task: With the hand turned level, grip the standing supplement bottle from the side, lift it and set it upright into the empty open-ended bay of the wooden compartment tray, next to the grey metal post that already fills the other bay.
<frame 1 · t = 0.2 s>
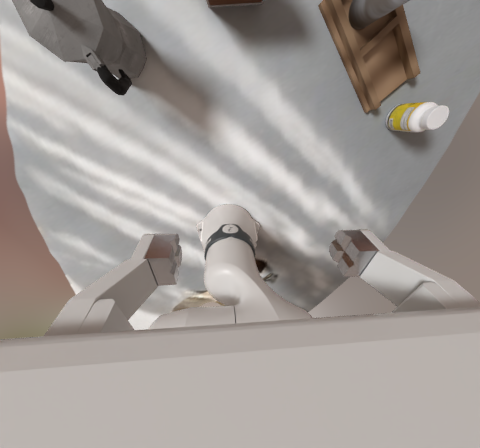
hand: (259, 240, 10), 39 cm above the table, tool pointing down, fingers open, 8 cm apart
supplement bottle: (395, 117, 44), on the table
coffeepot: (125, 56, 34), on the table
wooden compartment tray: (369, 41, 36), on the table
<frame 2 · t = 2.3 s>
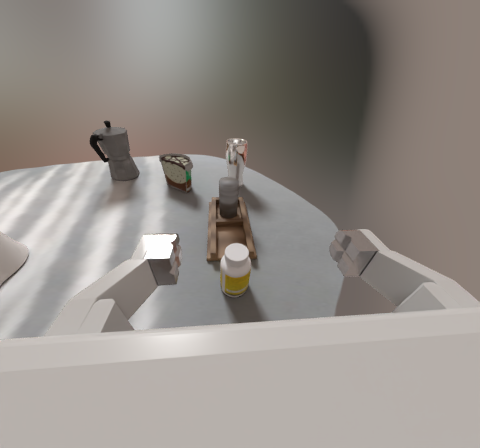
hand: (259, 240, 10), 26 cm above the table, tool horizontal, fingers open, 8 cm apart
supplement bottle: (234, 285, 36), on the table
food container: (183, 185, 65), on the table
beer glass: (234, 184, 68), on the table
coffeepot: (124, 177, 67), on the table
wooden compartment tray: (229, 227, 49), on the table
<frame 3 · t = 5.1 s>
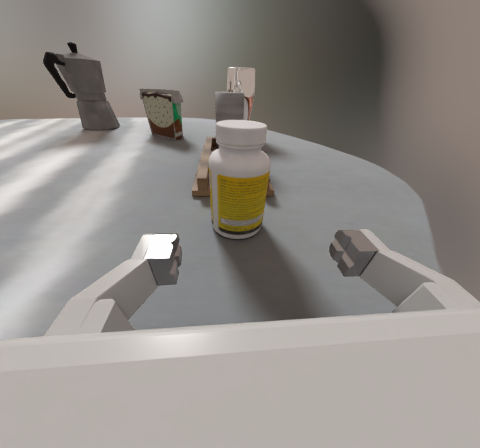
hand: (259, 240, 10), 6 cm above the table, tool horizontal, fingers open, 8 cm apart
supplement bottle: (236, 225, 20), on the table
food container: (172, 136, 51), on the table
beer glass: (239, 136, 53), on the table
coffeepot: (99, 128, 54), on the table
wooden compartment tray: (230, 166, 34), on the table
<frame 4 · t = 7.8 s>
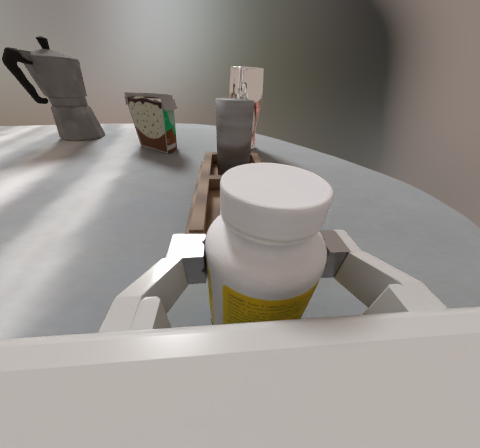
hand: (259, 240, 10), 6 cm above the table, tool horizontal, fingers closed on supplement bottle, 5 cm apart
supplement bottle: (251, 317, 13), on the table, touching gripper
food container: (165, 147, 43), on the table
beer glass: (243, 147, 46), on the table
coffeepot: (80, 138, 46), on the table
wooden compartment tray: (235, 193, 26), on the table
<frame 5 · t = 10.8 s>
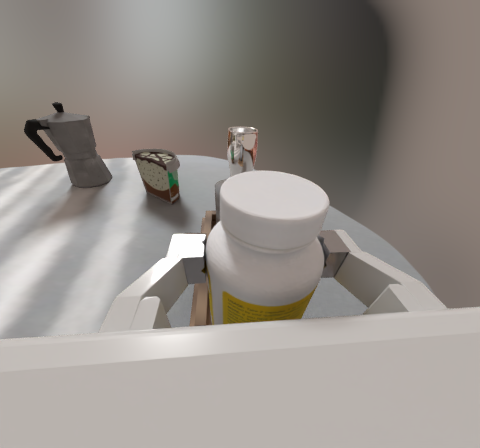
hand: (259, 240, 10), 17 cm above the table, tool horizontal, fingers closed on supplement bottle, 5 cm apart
supplement bottle: (251, 320, 13), point 10 cm above the table, touching gripper
food container: (169, 194, 47), on the table
beer glass: (240, 191, 50), on the table
coffeepot: (90, 182, 50), on the table
wooden compartment tray: (232, 260, 30), on the table
when the fingers open (9 cm above the table, at t = 14.1 s): supplement bottle stays where it is, resting on wooden compartment tray.
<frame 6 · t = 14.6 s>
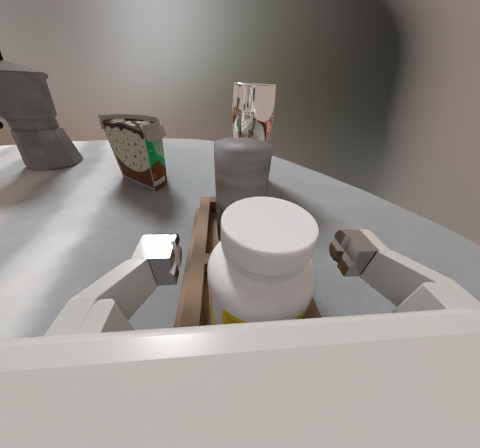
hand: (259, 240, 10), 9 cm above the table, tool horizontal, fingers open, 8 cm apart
supplement bottle: (250, 329, 14), point 1 cm above the table, touching wooden compartment tray
food container: (153, 178, 35), on the table
beer glass: (248, 176, 38), on the table
coffeepot: (52, 165, 38), on the table
wooden compartment tray: (242, 274, 18), on the table
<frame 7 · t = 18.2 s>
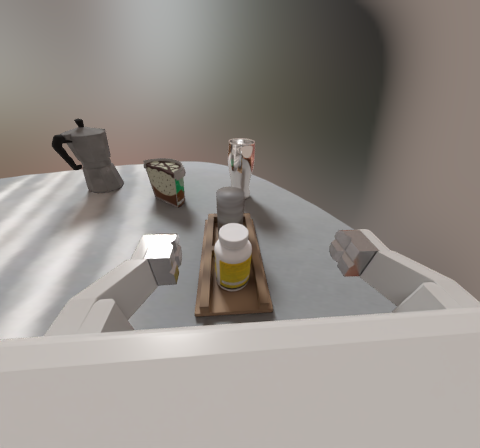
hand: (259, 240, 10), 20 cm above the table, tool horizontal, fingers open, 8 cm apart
supplement bottle: (232, 278, 30), point 1 cm above the table, touching wooden compartment tray
food container: (175, 198, 52), on the table
beer glass: (239, 195, 55), on the table
coffeepot: (104, 188, 55), on the table
wooden compartment tray: (231, 256, 35), on the table
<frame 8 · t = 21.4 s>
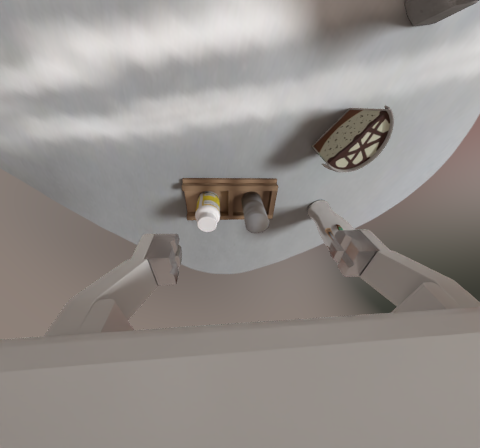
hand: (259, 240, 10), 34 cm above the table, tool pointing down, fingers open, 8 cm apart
supplement bottle: (209, 200, 46), point 1 cm above the table, touching wooden compartment tray
food container: (336, 137, 40), on the table
beer glass: (317, 208, 51), on the table
wooden compartment tray: (230, 198, 47), on the table
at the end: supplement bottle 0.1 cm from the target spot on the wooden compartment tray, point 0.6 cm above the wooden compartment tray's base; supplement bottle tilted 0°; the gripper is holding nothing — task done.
